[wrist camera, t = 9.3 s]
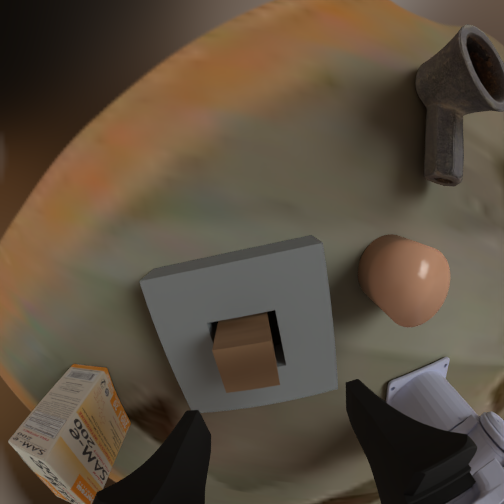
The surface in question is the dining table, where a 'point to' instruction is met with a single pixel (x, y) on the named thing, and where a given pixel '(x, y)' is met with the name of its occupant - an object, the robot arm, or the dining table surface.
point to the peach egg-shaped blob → (404, 279)
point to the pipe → (457, 98)
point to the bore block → (243, 304)
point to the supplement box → (74, 434)
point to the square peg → (245, 353)
